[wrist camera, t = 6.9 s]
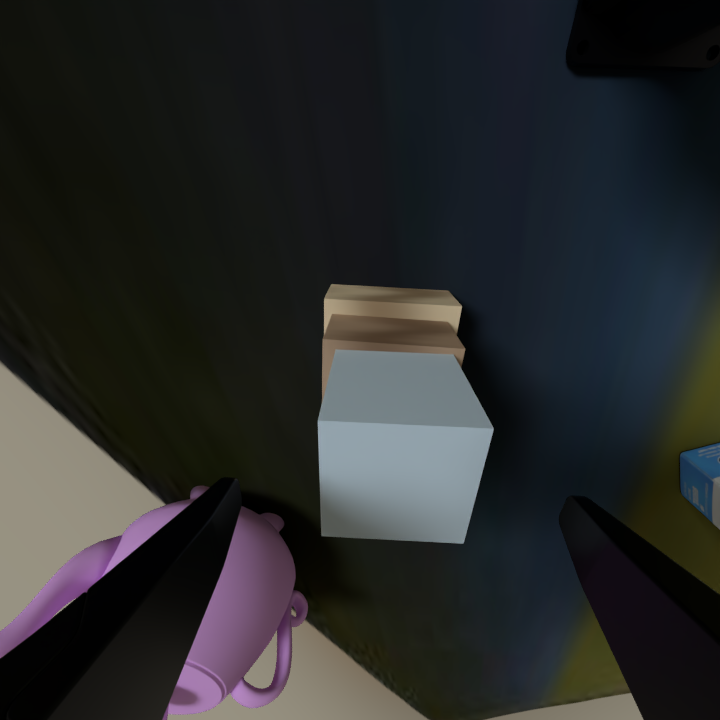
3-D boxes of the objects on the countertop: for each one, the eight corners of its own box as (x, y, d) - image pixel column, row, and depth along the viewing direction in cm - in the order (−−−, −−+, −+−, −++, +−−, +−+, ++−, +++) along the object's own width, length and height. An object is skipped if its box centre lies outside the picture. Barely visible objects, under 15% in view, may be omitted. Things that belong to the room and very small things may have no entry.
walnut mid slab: (447, 321, 17) (465, 348, 13) (429, 416, 19) (440, 458, 16) (332, 313, 17) (322, 339, 14) (329, 409, 19) (321, 449, 16)
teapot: (90, 528, 30) (-77, 723, 19) (123, 424, 24) (-87, 612, 13) (284, 597, 34) (241, 792, 23) (351, 521, 28) (337, 729, 17)
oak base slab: (447, 289, 19) (462, 306, 16) (430, 389, 22) (440, 419, 19) (331, 283, 19) (324, 298, 16) (330, 383, 23) (324, 412, 19)
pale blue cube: (453, 354, 14) (493, 428, 9) (437, 446, 16) (463, 543, 11) (335, 349, 14) (317, 420, 9) (335, 441, 16) (321, 535, 11)
